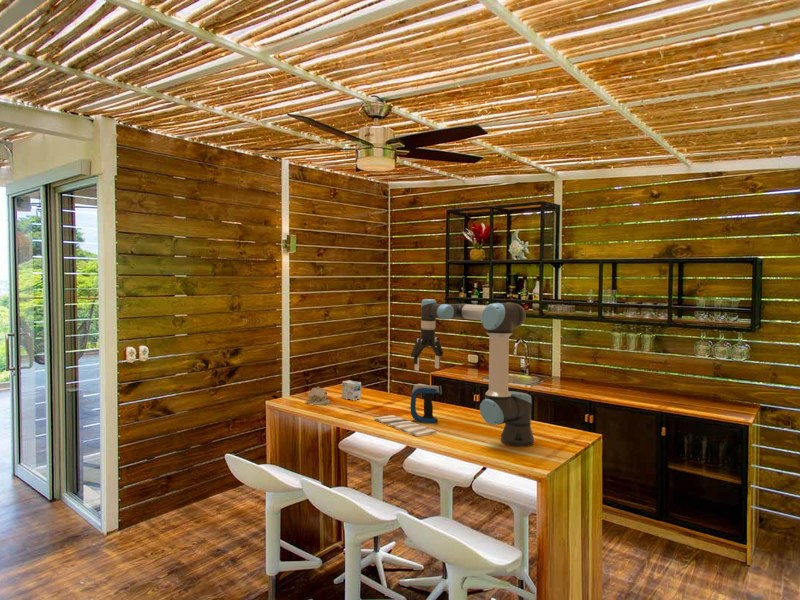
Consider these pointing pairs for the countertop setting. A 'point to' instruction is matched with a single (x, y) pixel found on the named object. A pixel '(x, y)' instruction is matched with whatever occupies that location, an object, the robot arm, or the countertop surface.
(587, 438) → the countertop surface
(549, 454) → the countertop surface
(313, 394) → the ceramic model
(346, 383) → the light bulb box
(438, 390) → the handheld scanner
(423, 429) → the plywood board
